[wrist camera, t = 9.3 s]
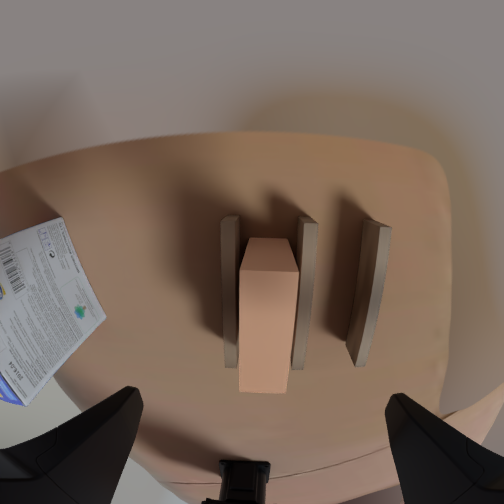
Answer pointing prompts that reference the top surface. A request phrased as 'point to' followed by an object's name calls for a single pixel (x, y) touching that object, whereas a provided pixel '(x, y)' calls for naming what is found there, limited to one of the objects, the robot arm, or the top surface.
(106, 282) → the top surface
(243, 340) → the terracotta block
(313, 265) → the slot rack
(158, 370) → the top surface
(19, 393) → the ink cartridge box
